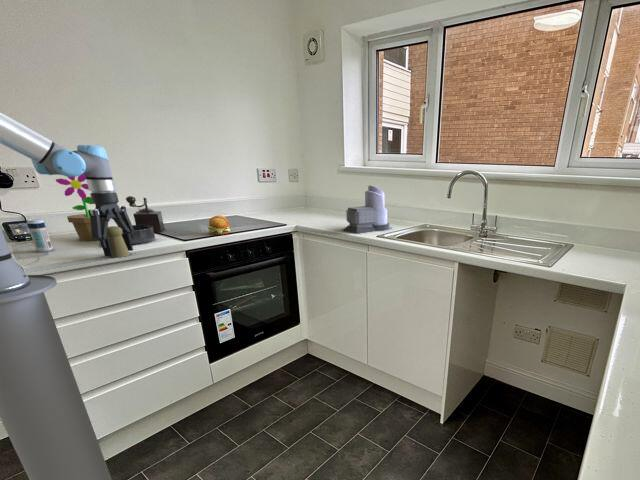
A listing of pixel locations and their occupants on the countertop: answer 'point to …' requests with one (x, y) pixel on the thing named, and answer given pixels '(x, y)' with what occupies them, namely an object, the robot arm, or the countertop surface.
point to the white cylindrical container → (39, 235)
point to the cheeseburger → (218, 225)
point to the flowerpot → (79, 208)
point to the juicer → (368, 213)
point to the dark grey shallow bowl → (141, 234)
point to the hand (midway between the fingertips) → (119, 253)
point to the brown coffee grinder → (147, 215)
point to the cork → (117, 242)
